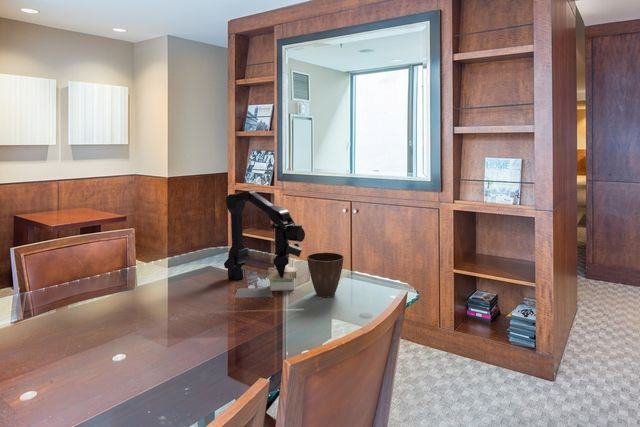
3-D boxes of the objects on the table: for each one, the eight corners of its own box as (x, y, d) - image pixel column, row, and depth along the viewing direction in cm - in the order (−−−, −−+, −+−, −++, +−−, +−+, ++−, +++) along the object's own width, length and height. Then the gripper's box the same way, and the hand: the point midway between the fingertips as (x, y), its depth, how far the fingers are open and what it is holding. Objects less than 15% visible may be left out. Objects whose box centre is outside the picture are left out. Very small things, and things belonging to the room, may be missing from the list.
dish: (270, 291, 200) (270, 282, 199) (271, 286, 208) (271, 277, 207) (294, 291, 200) (294, 282, 200) (294, 285, 208) (294, 276, 207)
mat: (234, 299, 191) (234, 297, 191) (238, 289, 203) (237, 288, 203) (269, 298, 192) (269, 296, 192) (270, 289, 204) (270, 287, 204)
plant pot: (309, 288, 204) (309, 252, 201) (344, 289, 202) (344, 252, 200) (305, 300, 189) (304, 260, 187) (342, 300, 188) (342, 261, 185)
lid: (267, 279, 199) (267, 270, 199) (268, 274, 206) (268, 265, 206) (296, 278, 200) (296, 269, 199) (296, 273, 207) (296, 265, 206)
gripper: (300, 243, 192) (301, 281, 194) (300, 234, 210) (300, 268, 213) (272, 244, 191) (273, 281, 194) (275, 235, 210) (275, 269, 212)
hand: (282, 275), depth 203 cm, fingers closed on lid, 7 cm apart
